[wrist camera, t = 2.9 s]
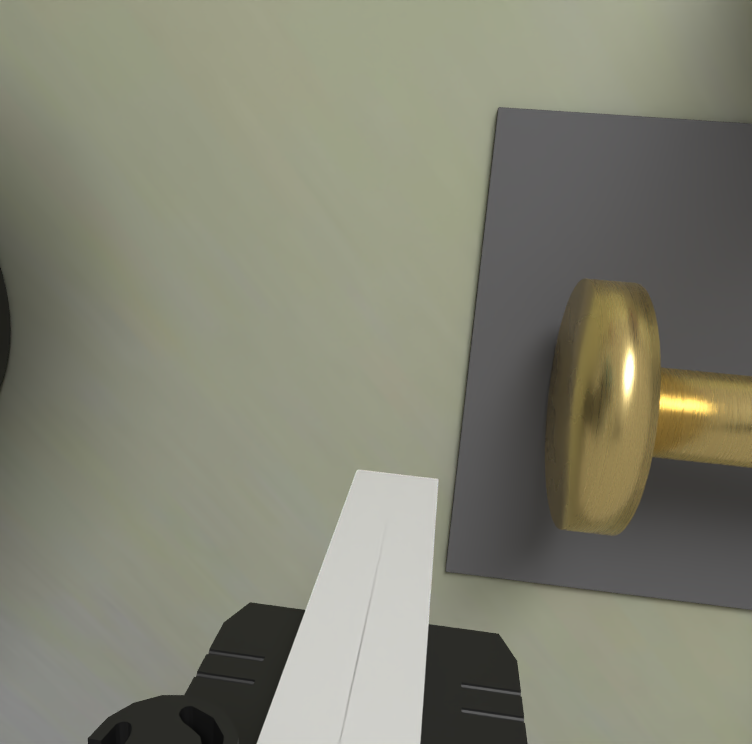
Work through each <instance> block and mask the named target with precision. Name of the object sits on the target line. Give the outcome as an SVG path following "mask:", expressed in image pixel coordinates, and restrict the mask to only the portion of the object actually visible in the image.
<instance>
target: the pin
mask: <svg viewBox="0 0 752 744" xmlns="http://www.w3.org/2000/svg"><path fill="white" fill-rule="evenodd" d="M652 457H654V458H664V459H673V460H682V461H692V462H701V463H710V464H719V465H729V466H738V467H747V468H752V376H745V375H734V374H724V373H714V372H703V371H693V370H683V369H672V368H662V367H661V355H660V340H659V332H658V325H657V320H656V314H655V310H654V307H653V304H652V301H651V299H650V296H649V294H648V292H647V291H646V289H645V288H644V287H643V286H642V285H640V284H638V283H632V282H620V281H609V280H597V279H582V280H580V281H579V282H578V283H577V285H576V286H575V288H574V289H573V291H572V293H571V295H570V298H569V300H568V303H567V305H566V308H565V311H564V315H563V318H562V322H561V325H560V329H559V333H558V338H557V343H556V348H555V353H554V358H553V365H552V371H551V378H550V386H549V394H548V404H547V416H546V434H545V477H546V490H547V499H548V505H549V510H550V514H551V517H552V520H553V522H554V524H555V526H556V527H557V528H558V529H560V530H567V531H576V532H584V533H593V534H601V535H610V536H615V535H618V534H620V533H621V532H622V531H623V530H624V529H625V528H626V527H627V526H628V524H629V523H630V521H631V519H632V518H633V516H634V514H635V512H636V510H637V507H638V505H639V503H640V500H641V497H642V494H643V491H644V488H645V485H646V481H647V478H648V474H649V470H650V466H651V461H652Z"/></svg>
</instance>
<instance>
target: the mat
mask: <svg viewBox="0 0 752 744" xmlns="http://www.w3.org/2000/svg"><path fill="white" fill-rule="evenodd" d="M582 279H597V280H609V281H620V282H632V283H638V284H640V285H642V286H643V287H644V288H645V289H646V291H647V292H648V294H649V296H650V299H651V301H652V304H653V307H654V310H655V314H656V320H657V325H658V332H659V340H660V355H661V367H662V368H672V369H683V370H693V371H703V372H714V373H724V374H734V375H745V376H752V124H748V123H733V122H717V121H702V120H687V119H671V118H656V117H641V116H625V115H610V114H595V113H580V112H564V111H549V110H534V109H518V108H503V107H499V108H498V114H497V123H496V132H495V141H494V150H493V158H492V167H491V176H490V185H489V193H488V202H487V211H486V220H485V228H484V237H483V246H482V255H481V264H480V272H479V281H478V290H477V299H476V307H475V316H474V325H473V334H472V342H471V351H470V360H469V369H468V377H467V386H466V395H465V404H464V413H463V421H462V430H461V439H460V448H459V456H458V465H457V474H456V483H455V491H454V500H453V509H452V518H451V527H450V535H449V544H448V553H447V562H446V572H453V573H461V574H469V575H477V576H485V577H493V578H501V579H509V580H517V581H525V582H533V583H541V584H549V585H557V586H565V587H573V588H581V589H589V590H597V591H605V592H613V593H621V594H629V595H637V596H645V597H653V598H661V599H669V600H677V601H685V602H693V603H701V604H709V605H717V606H725V607H733V608H741V609H749V610H752V468H747V467H738V466H729V465H719V464H710V463H701V462H692V461H682V460H673V459H664V458H654V457H652V461H651V466H650V470H649V474H648V478H647V481H646V485H645V488H644V491H643V494H642V497H641V500H640V503H639V505H638V507H637V510H636V512H635V514H634V516H633V518H632V519H631V521H630V523H629V524H628V526H627V527H626V528H625V529H624V530H623V531H622V532H621V533H620V534H618V535H615V536H610V535H601V534H593V533H584V532H576V531H567V530H560V529H558V528H557V527H556V526H555V524H554V522H553V520H552V517H551V514H550V510H549V505H548V499H547V490H546V477H545V434H546V416H547V404H548V394H549V386H550V378H551V371H552V365H553V358H554V353H555V348H556V343H557V338H558V333H559V329H560V325H561V322H562V318H563V315H564V311H565V308H566V305H567V303H568V300H569V298H570V295H571V293H572V291H573V289H574V288H575V286H576V285H577V283H578V282H579V281H580V280H582Z"/></svg>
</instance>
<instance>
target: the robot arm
mask: <svg viewBox="0 0 752 744" xmlns="http://www.w3.org/2000/svg"><path fill="white" fill-rule="evenodd" d="M9 344H10V314H9V305H8V298H7V292H6V287H5V283H4V279H3V275H2V272H1V268H0V386H1V383H2V380H3V377H4V373H5V369H6V365H7V360H8V353H9ZM437 494H438V479H435V478H426V477H417V476H409V475H400V474H392V473H383V472H374V471H366V470H357V471H356V474H355V476H354V479H353V482H352V484H351V487H350V490H349V493H348V495H347V498H346V501H345V504H344V506H343V509H342V512H341V515H340V517H339V520H338V523H337V525H336V528H335V531H334V534H333V536H332V539H331V542H330V545H329V547H328V550H327V553H326V556H325V558H324V561H323V564H322V566H321V569H320V572H319V575H318V577H317V580H316V583H315V586H314V588H313V591H312V594H311V597H310V599H309V602H308V605H307V608H306V610H301V609H294V608H287V607H280V606H272V605H265V604H258V603H249V604H247V605H246V606H245V607H243V608H242V609H241V610H240V611H238V612H237V613H236V614H234V615H233V616H232V617H231V618H229V619H228V620H227V621H225V622H224V623H223V625H222V627H221V629H220V631H219V633H218V634H217V636H216V638H215V640H214V642H213V644H212V645H211V647H210V650H209V654H207V655H206V656H205V658H204V660H203V662H202V664H201V666H200V667H199V669H198V671H197V676H196V677H194V678H193V680H192V682H191V684H190V686H189V688H188V689H187V691H186V693H185V695H161V696H158V697H154V698H150V699H146V700H143V701H139V702H135V703H133V704H131V705H129V706H127V707H126V708H124V709H122V710H120V711H119V712H117V713H115V714H113V715H112V716H110V717H108V718H107V719H106V720H105V721H104V722H103V723H102V724H101V725H100V726H99V727H98V728H97V729H96V730H95V731H94V733H93V734H92V735H91V736H90V737H89V738H88V744H527V736H526V728H525V723H524V712H523V704H522V697H521V689H520V681H519V673H518V665H517V660H516V659H515V657H514V656H513V654H512V653H511V651H510V650H509V648H508V647H507V645H506V644H505V642H504V641H503V639H502V638H501V637H500V635H499V634H496V633H489V632H481V631H474V630H467V629H459V628H452V627H445V626H437V625H430V624H429V610H430V595H431V581H432V566H433V552H434V537H435V523H436V508H437Z"/></svg>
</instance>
